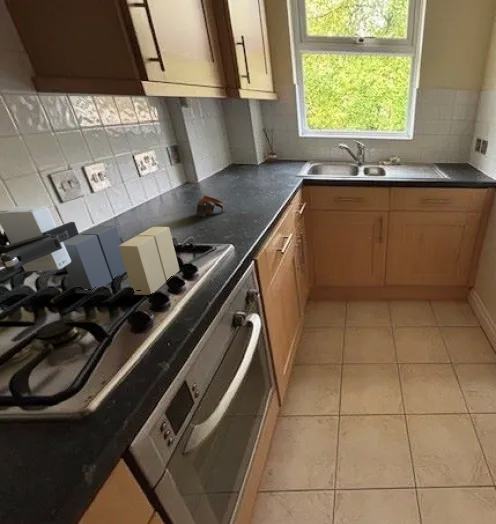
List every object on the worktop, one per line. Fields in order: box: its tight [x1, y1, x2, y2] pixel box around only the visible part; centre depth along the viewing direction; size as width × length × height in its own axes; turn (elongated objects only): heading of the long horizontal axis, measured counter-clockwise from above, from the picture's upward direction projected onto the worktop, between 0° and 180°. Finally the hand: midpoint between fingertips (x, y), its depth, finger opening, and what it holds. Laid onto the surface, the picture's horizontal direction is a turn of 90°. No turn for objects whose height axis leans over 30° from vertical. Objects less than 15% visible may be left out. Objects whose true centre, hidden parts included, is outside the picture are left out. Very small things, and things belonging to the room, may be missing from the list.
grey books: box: [63, 224, 127, 294], centre depth 78 cm, size 4×12×12 cm, turn 0°
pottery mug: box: [196, 195, 224, 218], centre depth 130 cm, size 12×10×8 cm
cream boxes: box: [118, 226, 180, 296], centre depth 78 cm, size 4×12×12 cm, turn 0°
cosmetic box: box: [0, 205, 71, 272], centre depth 64 cm, size 6×4×12 cm
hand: (57, 227), depth 68 cm, fingers closed on cosmetic box, 6 cm apart
